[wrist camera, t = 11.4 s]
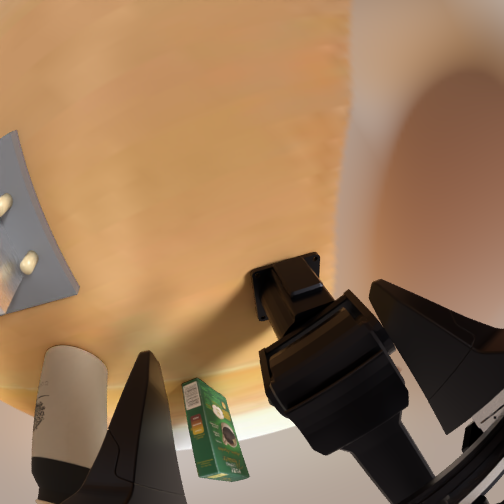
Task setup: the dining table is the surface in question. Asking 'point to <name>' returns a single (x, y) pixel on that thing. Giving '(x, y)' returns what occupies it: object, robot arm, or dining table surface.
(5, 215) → the pin tray
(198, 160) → the dining table surface
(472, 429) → the robot arm
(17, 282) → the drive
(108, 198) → the dining table surface
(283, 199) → the dining table surface
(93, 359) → the travel mug
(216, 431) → the coffee box
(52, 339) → the dining table surface
